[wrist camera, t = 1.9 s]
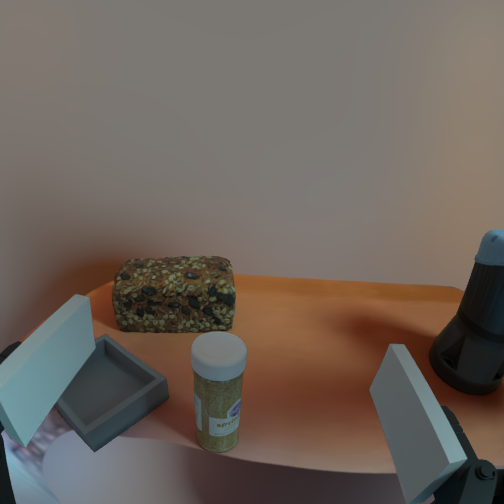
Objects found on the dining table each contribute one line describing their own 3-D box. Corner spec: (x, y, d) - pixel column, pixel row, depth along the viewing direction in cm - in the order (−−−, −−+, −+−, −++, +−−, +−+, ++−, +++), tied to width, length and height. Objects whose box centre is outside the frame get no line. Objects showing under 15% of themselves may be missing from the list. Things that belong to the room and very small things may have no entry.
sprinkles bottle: (230, 459, 26) (236, 371, 21) (189, 445, 27) (180, 354, 22) (243, 428, 30) (254, 336, 25) (205, 416, 32) (204, 323, 27)
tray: (110, 353, 39) (105, 333, 38) (168, 397, 33) (166, 378, 32) (42, 391, 29) (34, 371, 28) (94, 452, 24) (84, 434, 23)
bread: (227, 300, 57) (230, 249, 53) (234, 336, 47) (238, 278, 43) (126, 299, 53) (121, 248, 49) (115, 334, 43) (106, 277, 40)
